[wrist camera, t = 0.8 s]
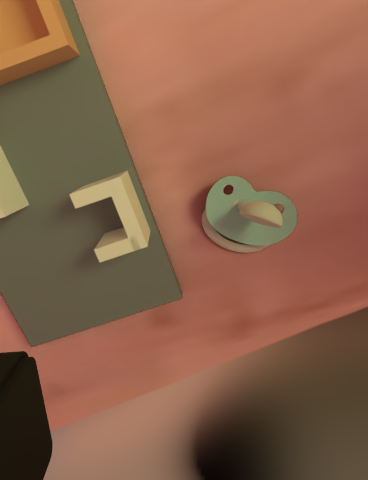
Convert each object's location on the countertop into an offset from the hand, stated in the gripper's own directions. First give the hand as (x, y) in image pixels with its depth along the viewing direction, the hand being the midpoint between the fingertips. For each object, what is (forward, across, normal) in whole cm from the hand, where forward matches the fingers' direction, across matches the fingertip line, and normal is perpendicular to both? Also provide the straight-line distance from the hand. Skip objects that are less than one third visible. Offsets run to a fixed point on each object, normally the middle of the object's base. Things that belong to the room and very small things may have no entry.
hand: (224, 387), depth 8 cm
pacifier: (+20, -5, 0) cm, 21 cm away
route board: (+20, +12, -7) cm, 24 cm away
